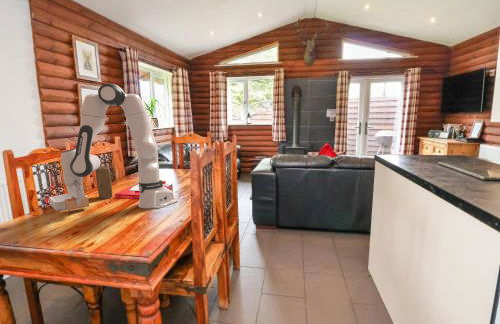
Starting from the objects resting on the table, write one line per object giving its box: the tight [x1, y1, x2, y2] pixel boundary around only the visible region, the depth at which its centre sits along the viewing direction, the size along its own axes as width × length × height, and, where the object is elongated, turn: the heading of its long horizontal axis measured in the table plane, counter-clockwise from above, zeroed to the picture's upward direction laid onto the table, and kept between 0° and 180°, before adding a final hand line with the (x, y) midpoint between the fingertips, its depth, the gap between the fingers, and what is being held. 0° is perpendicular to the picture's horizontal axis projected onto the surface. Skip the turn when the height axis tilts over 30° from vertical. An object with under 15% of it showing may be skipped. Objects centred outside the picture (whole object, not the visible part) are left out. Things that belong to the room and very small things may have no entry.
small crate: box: [64, 195, 90, 212], centre depth 149 cm, size 10×6×5 cm, turn 136°
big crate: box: [48, 193, 89, 212], centre depth 160 cm, size 16×16×5 cm
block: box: [95, 165, 113, 200], centre depth 173 cm, size 11×8×20 cm
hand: (77, 203), depth 149 cm, fingers closed on small crate, 6 cm apart
